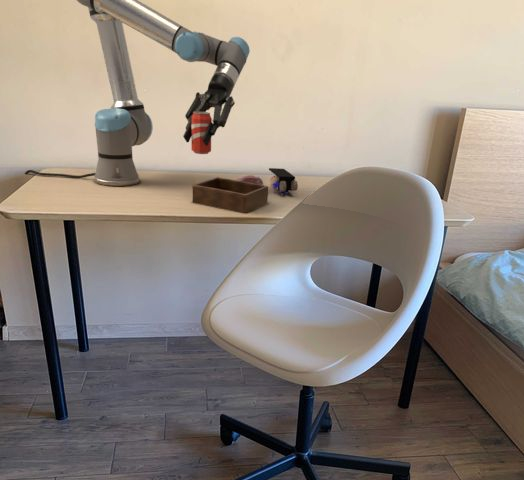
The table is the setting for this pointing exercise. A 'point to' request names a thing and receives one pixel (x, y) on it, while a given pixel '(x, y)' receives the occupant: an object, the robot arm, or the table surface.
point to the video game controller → (251, 179)
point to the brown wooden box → (230, 194)
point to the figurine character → (283, 181)
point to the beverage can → (200, 132)
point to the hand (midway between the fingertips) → (195, 140)
